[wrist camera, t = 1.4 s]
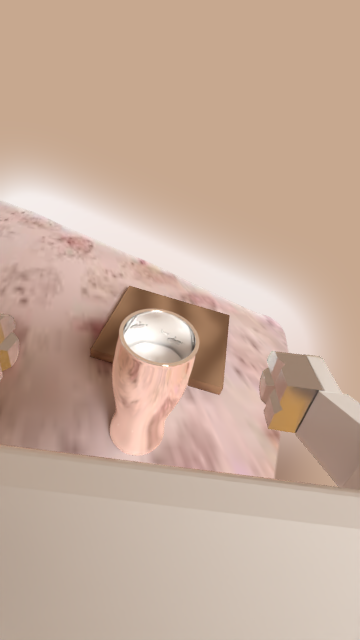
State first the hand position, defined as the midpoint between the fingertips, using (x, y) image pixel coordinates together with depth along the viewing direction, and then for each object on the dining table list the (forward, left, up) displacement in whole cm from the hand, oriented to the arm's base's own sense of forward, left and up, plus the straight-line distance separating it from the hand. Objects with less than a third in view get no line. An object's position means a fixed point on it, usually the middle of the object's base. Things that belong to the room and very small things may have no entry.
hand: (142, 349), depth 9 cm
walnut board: (0, +27, -24) cm, 36 cm away
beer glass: (0, +11, -24) cm, 27 cm away
